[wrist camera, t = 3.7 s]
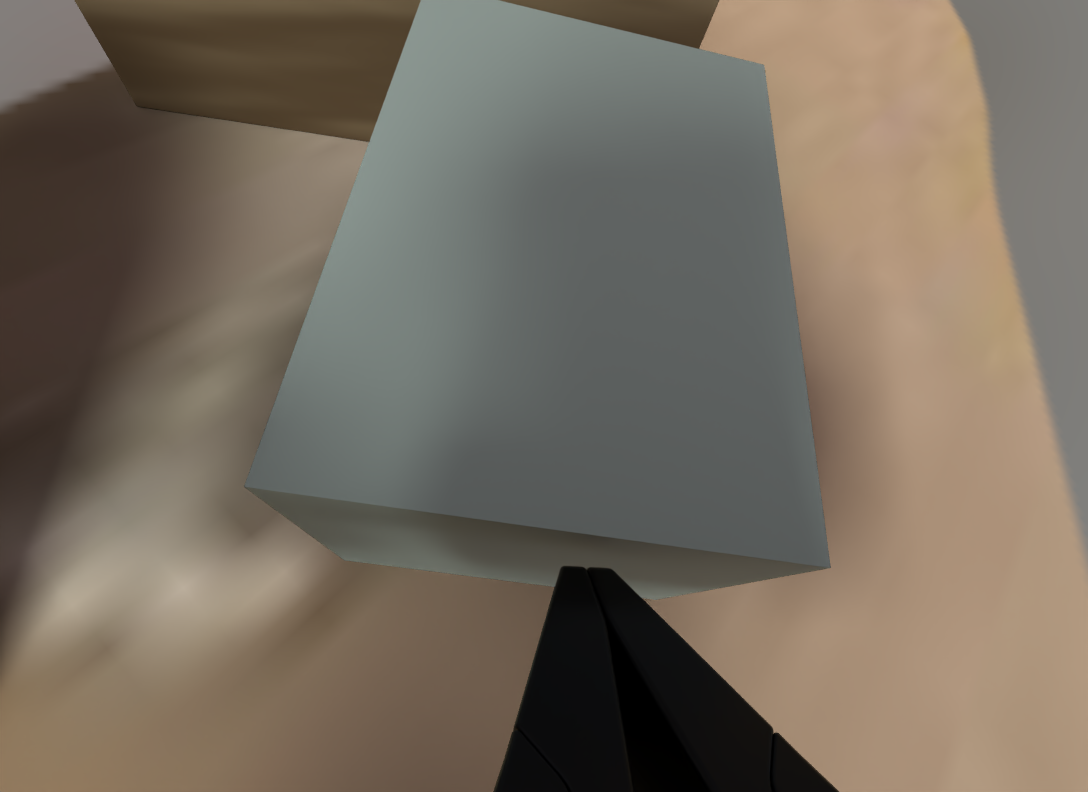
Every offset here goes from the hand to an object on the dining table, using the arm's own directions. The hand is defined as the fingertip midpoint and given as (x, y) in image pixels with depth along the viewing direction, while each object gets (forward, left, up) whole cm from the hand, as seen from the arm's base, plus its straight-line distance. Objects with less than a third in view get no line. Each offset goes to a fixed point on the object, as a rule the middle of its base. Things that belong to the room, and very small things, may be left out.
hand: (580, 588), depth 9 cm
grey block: (+7, 0, -7) cm, 10 cm away
